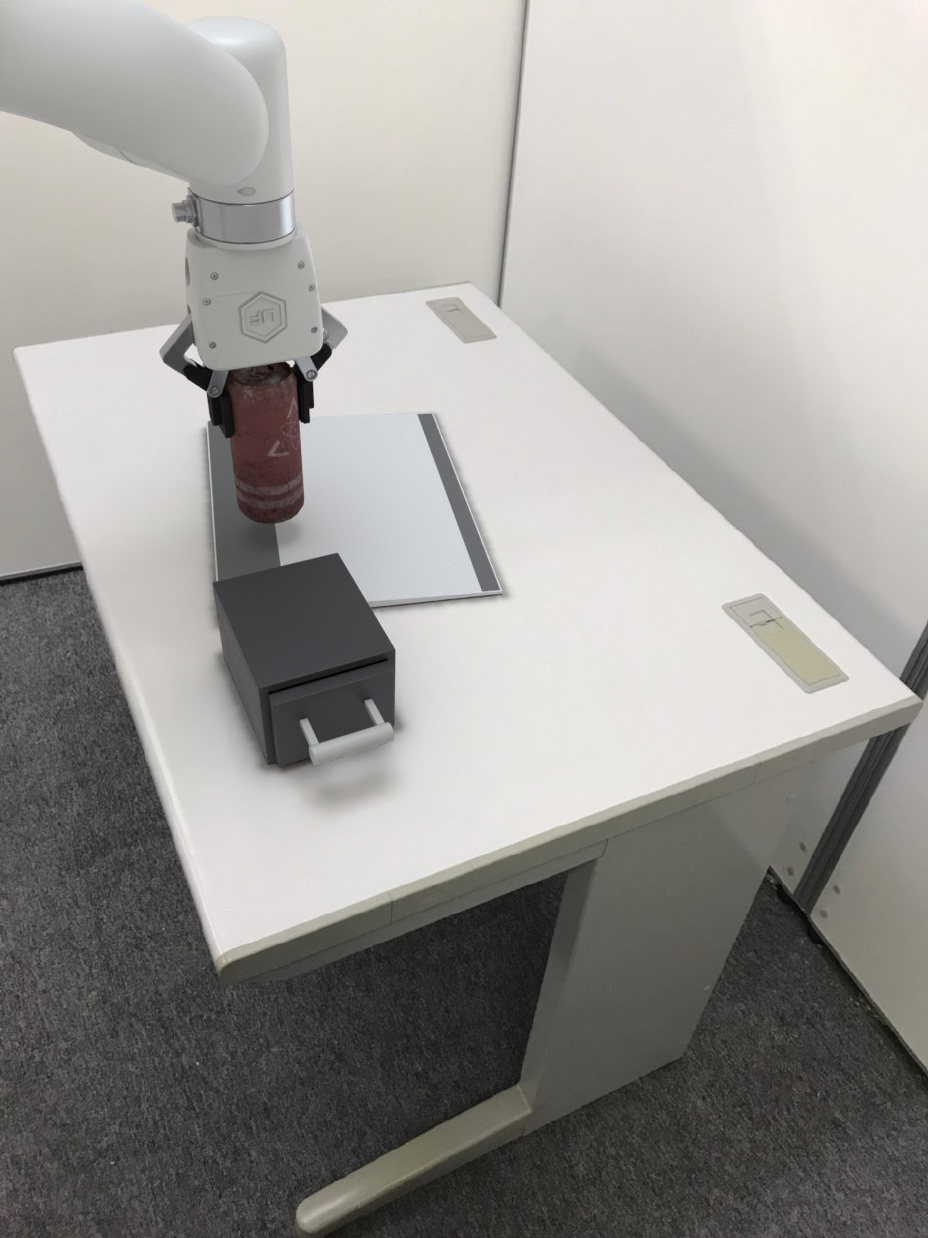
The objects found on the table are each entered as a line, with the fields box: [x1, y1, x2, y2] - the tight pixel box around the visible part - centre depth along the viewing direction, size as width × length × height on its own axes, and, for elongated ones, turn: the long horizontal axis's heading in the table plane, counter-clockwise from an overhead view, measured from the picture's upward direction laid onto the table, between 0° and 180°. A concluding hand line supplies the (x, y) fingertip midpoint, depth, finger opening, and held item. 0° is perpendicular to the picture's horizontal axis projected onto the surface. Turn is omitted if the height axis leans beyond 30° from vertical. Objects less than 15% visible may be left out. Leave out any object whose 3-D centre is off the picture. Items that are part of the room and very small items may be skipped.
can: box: [224, 361, 304, 524], centre depth 86 cm, size 6×6×14 cm
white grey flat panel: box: [205, 412, 503, 608], centre depth 98 cm, size 32×26×1 cm
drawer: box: [268, 661, 395, 767], centre depth 74 cm, size 15×9×7 cm, turn 26°
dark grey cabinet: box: [211, 553, 397, 765], centre depth 76 cm, size 12×10×8 cm
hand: (263, 421), depth 84 cm, fingers closed on can, 6 cm apart
